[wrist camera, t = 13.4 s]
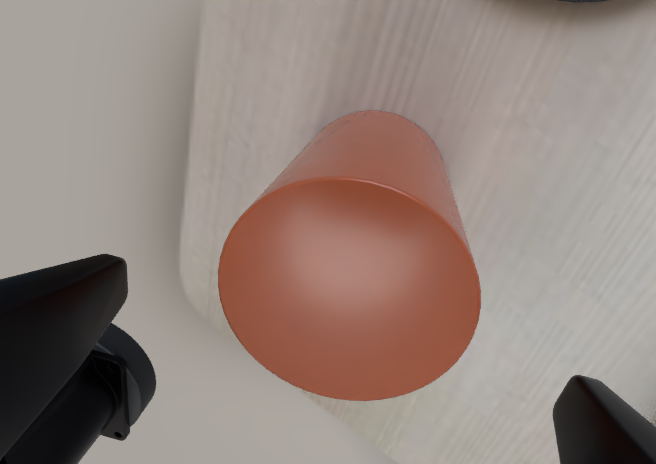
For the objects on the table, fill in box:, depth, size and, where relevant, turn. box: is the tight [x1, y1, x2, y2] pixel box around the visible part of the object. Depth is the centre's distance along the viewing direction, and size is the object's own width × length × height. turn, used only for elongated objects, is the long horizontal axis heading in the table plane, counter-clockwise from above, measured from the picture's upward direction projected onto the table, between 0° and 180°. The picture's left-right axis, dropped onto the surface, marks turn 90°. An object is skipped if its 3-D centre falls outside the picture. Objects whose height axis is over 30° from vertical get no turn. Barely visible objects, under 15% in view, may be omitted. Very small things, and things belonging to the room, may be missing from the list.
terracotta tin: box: [218, 111, 481, 401], centre depth 12 cm, size 6×6×8 cm
